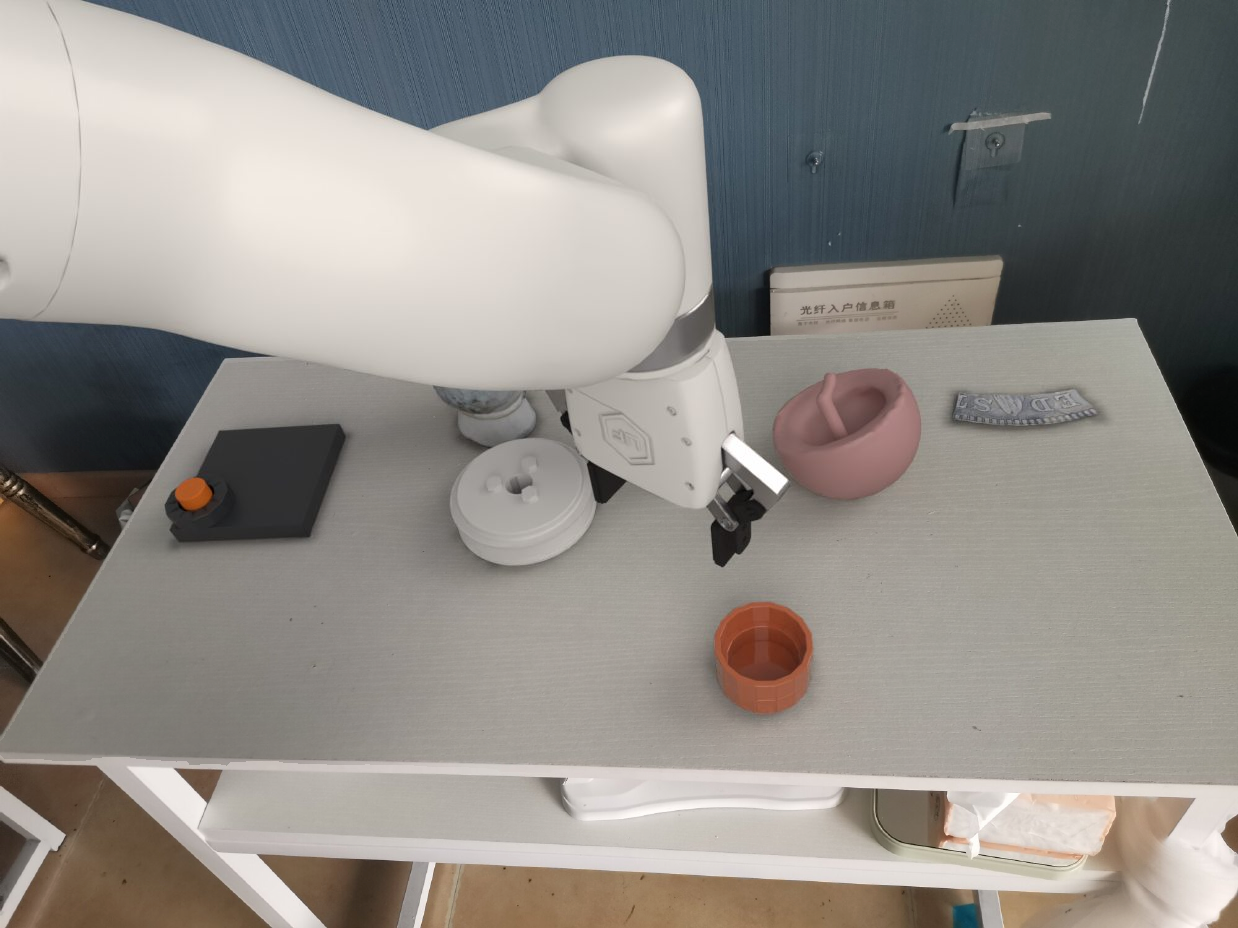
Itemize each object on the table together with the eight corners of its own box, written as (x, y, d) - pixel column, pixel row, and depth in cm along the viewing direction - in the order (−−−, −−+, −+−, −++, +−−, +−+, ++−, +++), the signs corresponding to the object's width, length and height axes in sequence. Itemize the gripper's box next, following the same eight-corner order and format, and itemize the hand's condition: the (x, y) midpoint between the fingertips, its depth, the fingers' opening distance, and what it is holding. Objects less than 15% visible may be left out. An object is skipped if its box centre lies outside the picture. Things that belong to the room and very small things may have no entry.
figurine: (557, 394, 91) (527, 273, 80) (520, 458, 85) (483, 336, 74) (473, 381, 94) (433, 262, 83) (432, 441, 88) (384, 322, 77)
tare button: (206, 510, 81) (198, 499, 80) (178, 511, 82) (169, 500, 80) (217, 487, 83) (209, 476, 82) (189, 488, 84) (181, 477, 82)
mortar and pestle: (805, 413, 84) (809, 317, 76) (931, 451, 79) (949, 352, 71) (750, 500, 78) (748, 406, 70) (883, 547, 73) (898, 452, 64)
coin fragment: (1089, 389, 82) (1090, 385, 81) (1104, 425, 78) (1106, 422, 78) (946, 394, 84) (947, 391, 83) (955, 430, 80) (956, 426, 80)
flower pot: (815, 716, 64) (817, 685, 60) (718, 717, 64) (715, 687, 61) (806, 633, 68) (807, 600, 65) (716, 635, 69) (713, 603, 66)
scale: (308, 540, 81) (293, 515, 79) (174, 545, 83) (155, 522, 81) (346, 436, 90) (333, 411, 88) (224, 443, 92) (208, 419, 90)
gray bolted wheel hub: (436, 509, 82) (421, 473, 78) (551, 443, 86) (541, 406, 82) (502, 597, 74) (489, 561, 71) (625, 520, 78) (618, 483, 74)
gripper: (477, 302, 49) (537, 503, 61) (743, 414, 40) (750, 620, 53) (564, 234, 52) (604, 436, 65) (826, 323, 44) (814, 536, 56)
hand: (670, 518), depth 59 cm, fingers open, 9 cm apart
